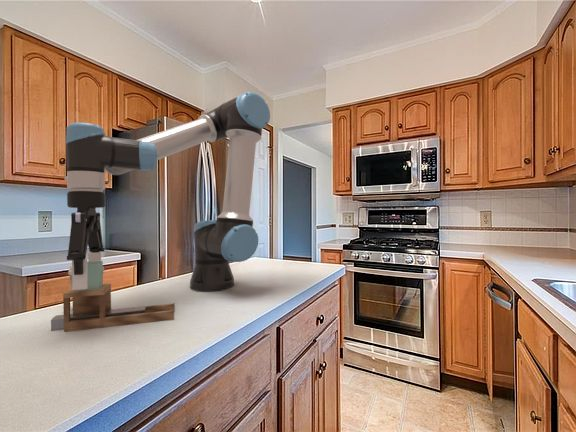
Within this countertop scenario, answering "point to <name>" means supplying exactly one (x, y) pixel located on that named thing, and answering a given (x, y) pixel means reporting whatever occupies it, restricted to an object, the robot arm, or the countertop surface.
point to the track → (102, 302)
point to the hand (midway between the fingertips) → (88, 283)
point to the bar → (94, 316)
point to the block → (94, 275)
